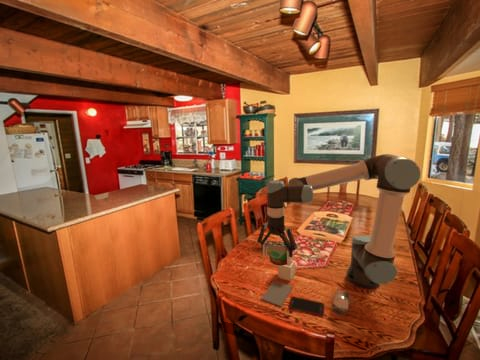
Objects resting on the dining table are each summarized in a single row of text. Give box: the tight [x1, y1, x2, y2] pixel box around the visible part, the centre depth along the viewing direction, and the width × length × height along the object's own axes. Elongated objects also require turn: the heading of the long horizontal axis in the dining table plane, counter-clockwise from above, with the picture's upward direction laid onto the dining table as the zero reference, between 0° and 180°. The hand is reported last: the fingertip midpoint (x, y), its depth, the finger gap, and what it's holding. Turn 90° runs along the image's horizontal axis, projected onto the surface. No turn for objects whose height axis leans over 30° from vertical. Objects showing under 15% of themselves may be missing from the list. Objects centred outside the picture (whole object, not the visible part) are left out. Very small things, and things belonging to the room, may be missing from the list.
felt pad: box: [260, 280, 294, 308], centre depth 114 cm, size 10×15×1 cm, turn 148°
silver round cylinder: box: [331, 290, 351, 316], centre depth 102 cm, size 8×6×6 cm
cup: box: [277, 259, 296, 283], centre depth 126 cm, size 7×7×8 cm
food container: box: [266, 239, 288, 266], centre depth 109 cm, size 12×6×10 cm, turn 68°
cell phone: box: [288, 296, 325, 318], centre depth 104 cm, size 8×15×1 cm, turn 68°
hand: (276, 259), depth 110 cm, fingers closed on food container, 11 cm apart
